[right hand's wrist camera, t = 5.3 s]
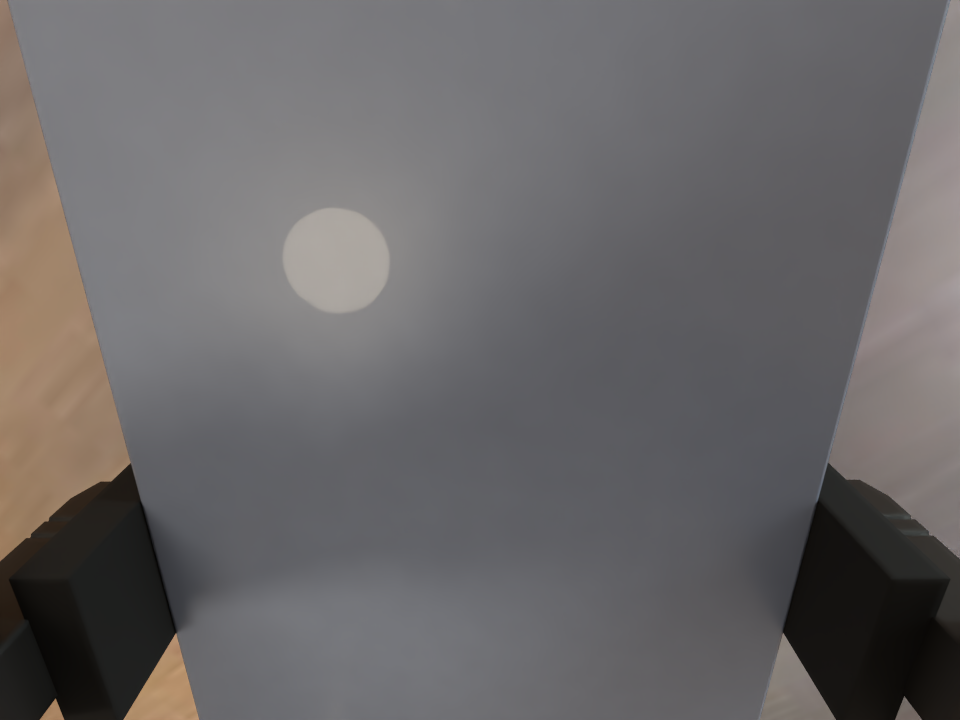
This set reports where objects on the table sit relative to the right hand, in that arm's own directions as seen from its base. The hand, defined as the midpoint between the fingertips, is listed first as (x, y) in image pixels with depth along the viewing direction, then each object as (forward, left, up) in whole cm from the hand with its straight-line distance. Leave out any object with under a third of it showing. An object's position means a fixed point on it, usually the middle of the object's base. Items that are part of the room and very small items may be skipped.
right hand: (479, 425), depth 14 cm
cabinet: (+2, +3, -5) cm, 6 cm away
